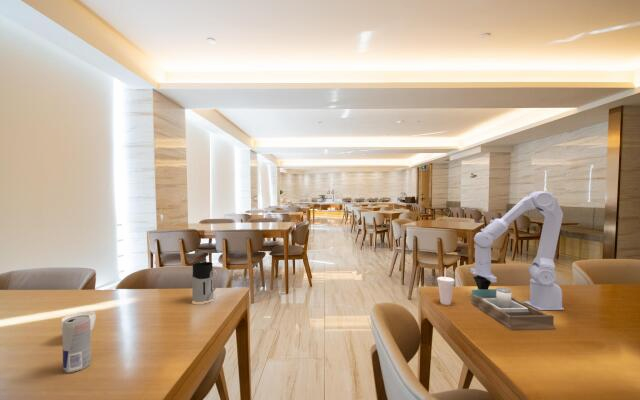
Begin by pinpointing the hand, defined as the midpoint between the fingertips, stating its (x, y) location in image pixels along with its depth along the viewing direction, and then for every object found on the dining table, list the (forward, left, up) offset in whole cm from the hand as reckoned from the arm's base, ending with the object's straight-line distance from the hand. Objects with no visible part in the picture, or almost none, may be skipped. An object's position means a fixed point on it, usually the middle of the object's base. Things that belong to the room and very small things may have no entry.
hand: (482, 294), depth 117 cm
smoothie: (+17, +3, -2) cm, 17 cm away
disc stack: (0, +13, 0) cm, 13 cm away
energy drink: (+129, +40, -2) cm, 135 cm away
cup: (+140, +24, -2) cm, 142 cm away
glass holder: (+112, -3, -2) cm, 112 cm away
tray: (0, +10, -1) cm, 10 cm away
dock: (0, +16, -2) cm, 16 cm away
